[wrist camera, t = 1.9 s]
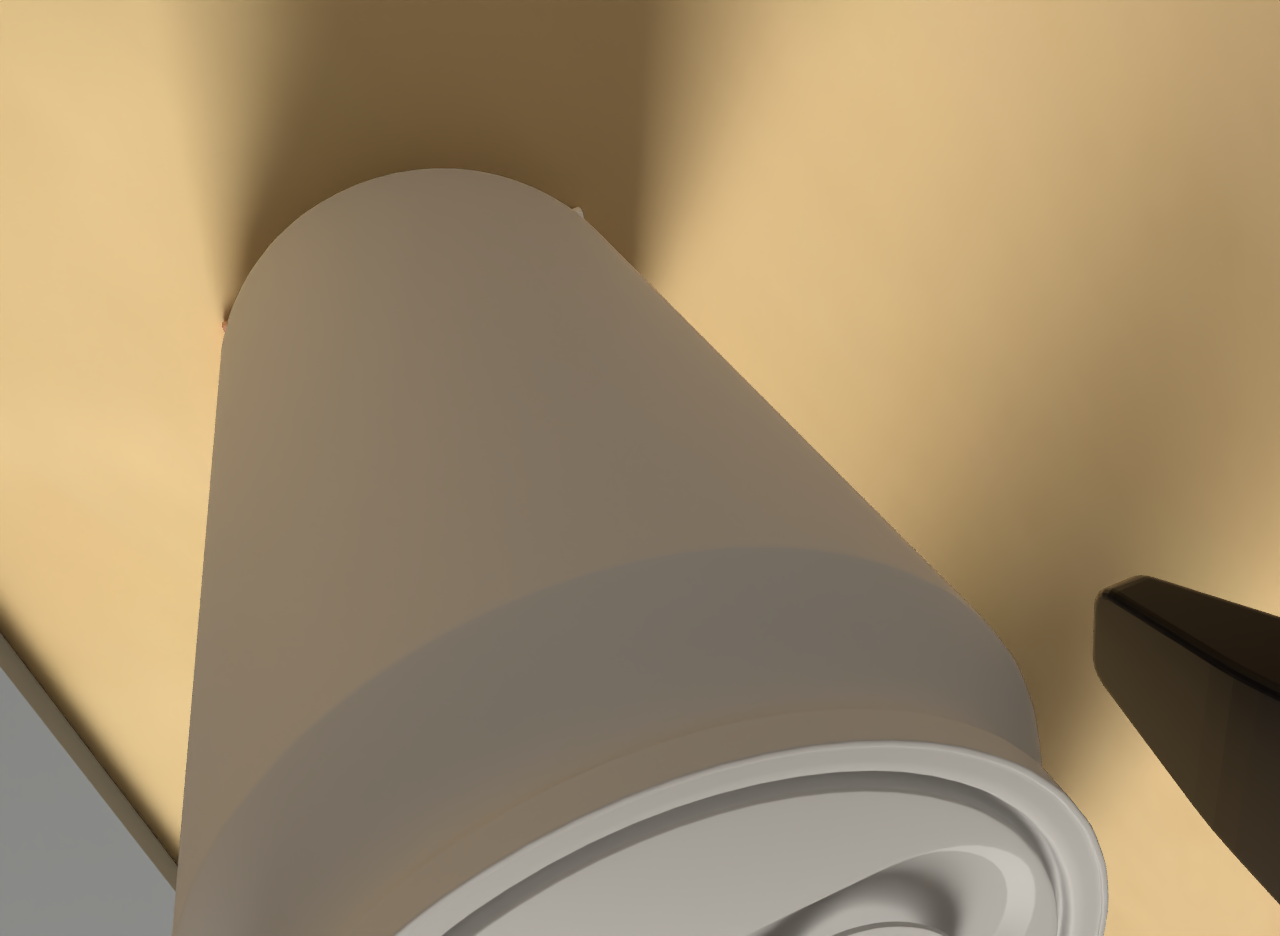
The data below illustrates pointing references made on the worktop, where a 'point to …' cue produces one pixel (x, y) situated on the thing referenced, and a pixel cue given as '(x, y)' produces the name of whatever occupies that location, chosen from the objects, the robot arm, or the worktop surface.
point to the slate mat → (69, 829)
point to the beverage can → (572, 623)
